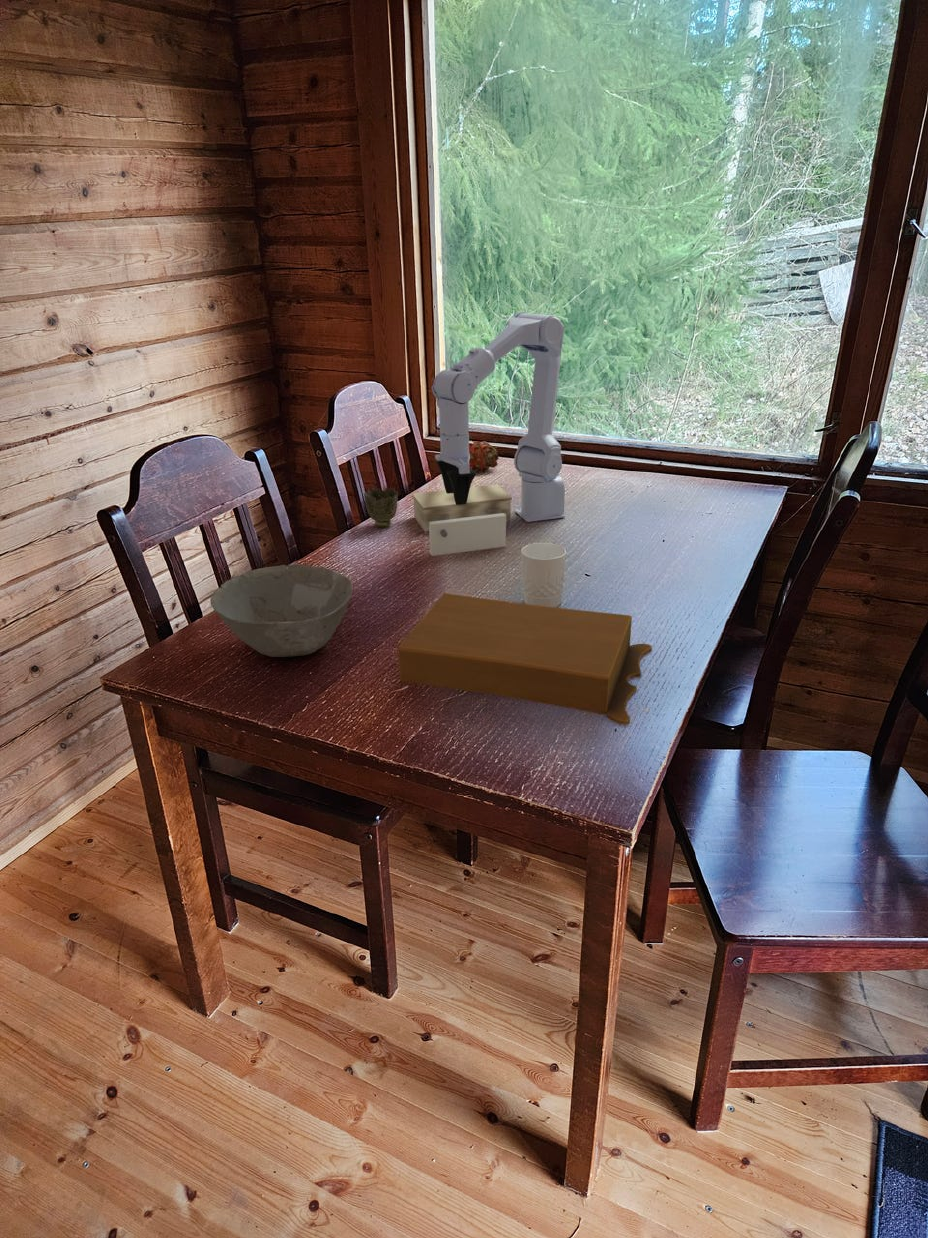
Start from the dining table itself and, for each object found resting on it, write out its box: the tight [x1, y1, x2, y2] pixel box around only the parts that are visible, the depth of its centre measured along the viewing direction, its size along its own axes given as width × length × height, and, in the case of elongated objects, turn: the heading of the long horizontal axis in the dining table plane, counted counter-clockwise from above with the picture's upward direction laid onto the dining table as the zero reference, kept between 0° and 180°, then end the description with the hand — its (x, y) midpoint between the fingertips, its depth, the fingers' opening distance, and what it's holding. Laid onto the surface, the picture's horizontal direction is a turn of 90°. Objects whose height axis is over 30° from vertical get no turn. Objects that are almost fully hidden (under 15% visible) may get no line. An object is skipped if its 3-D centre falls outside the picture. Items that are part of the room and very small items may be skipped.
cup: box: [363, 487, 399, 529], centre depth 186 cm, size 8×7×8 cm
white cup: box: [520, 542, 567, 608], centre depth 149 cm, size 8×8×10 cm
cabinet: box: [411, 484, 513, 533], centre depth 188 cm, size 20×15×6 cm
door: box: [428, 513, 507, 557], centre depth 172 cm, size 16×3×7 cm, turn 106°
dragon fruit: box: [469, 440, 500, 473], centre depth 224 cm, size 8×8×12 cm
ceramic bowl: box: [210, 563, 354, 658], centre depth 136 cm, size 22×23×10 cm
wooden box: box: [397, 592, 653, 725], centre depth 129 cm, size 23×6×35 cm
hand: (456, 498), depth 172 cm, fingers open, 7 cm apart
